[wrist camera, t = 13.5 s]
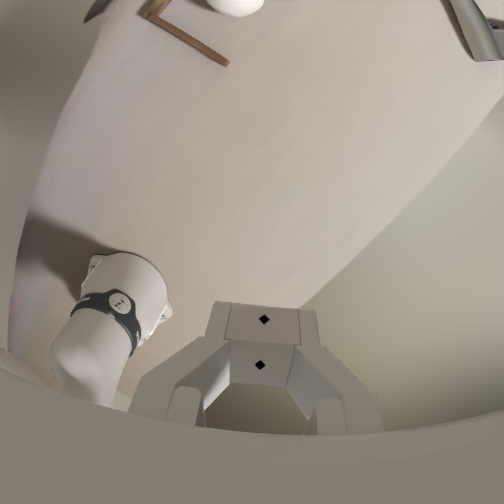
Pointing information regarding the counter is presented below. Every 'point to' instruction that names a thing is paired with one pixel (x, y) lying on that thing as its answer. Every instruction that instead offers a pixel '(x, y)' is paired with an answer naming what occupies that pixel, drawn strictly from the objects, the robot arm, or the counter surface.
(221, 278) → the counter surface
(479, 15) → the infrared thermometer
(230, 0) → the white sculpted ball
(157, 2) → the bay
